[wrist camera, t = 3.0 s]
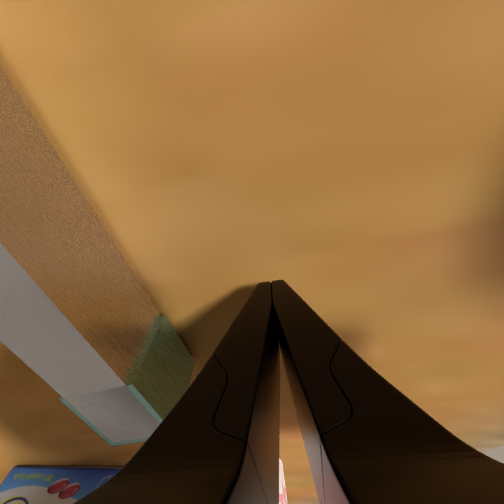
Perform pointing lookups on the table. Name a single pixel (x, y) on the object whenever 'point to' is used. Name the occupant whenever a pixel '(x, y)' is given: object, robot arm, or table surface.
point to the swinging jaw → (77, 294)
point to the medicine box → (52, 483)
